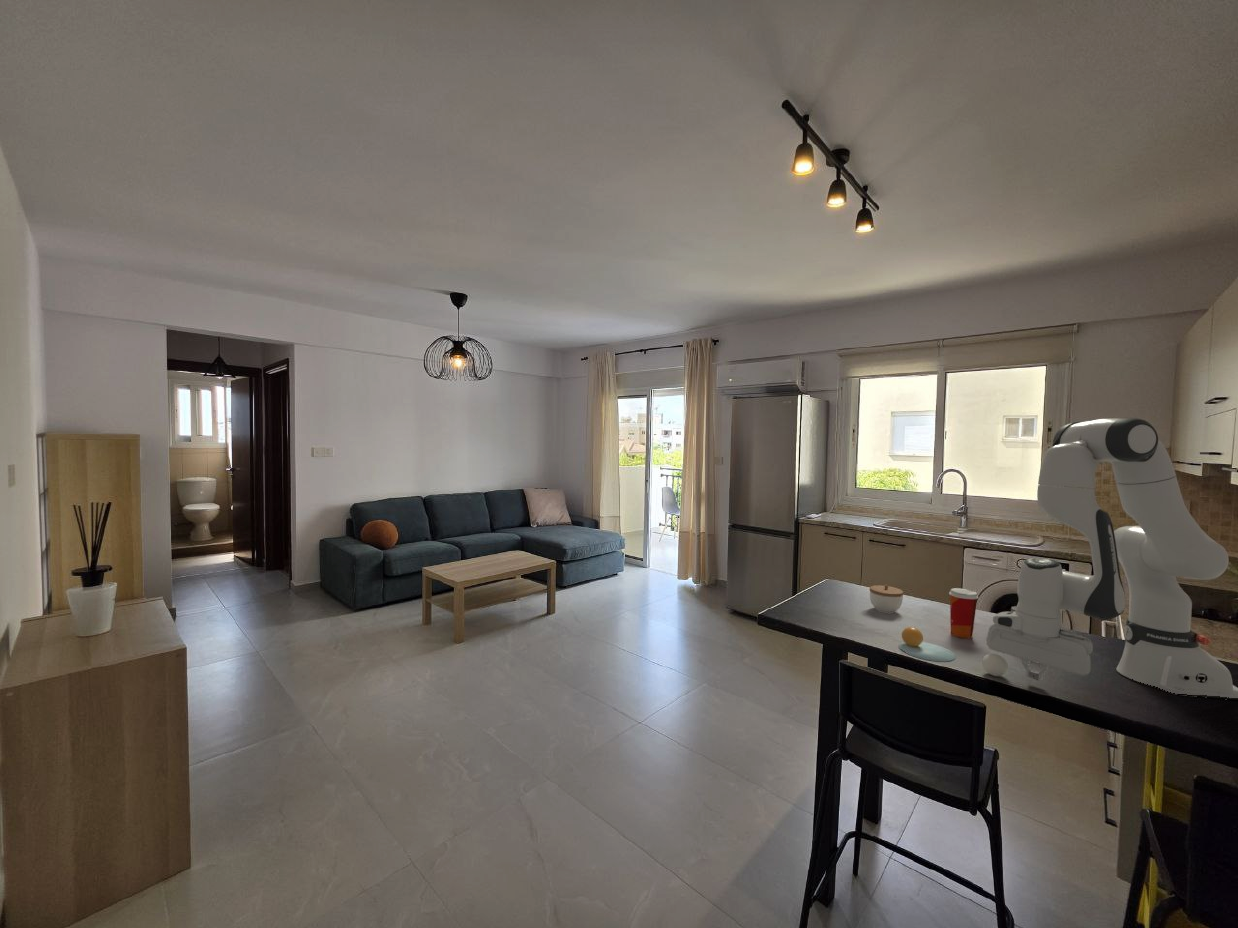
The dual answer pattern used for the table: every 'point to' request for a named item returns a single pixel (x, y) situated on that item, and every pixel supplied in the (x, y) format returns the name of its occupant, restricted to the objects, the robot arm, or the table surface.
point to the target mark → (928, 652)
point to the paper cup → (962, 612)
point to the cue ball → (994, 664)
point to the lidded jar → (886, 598)
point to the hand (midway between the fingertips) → (1034, 678)
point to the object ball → (912, 636)
